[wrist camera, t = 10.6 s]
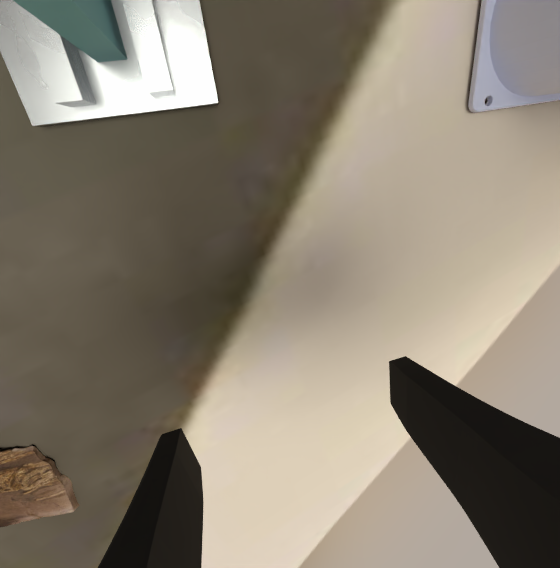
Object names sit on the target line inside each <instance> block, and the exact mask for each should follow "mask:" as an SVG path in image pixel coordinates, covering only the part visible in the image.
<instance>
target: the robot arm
mask: <svg viewBox="0 0 560 568" xmlns="http://www.w3.org/2000/svg"><path fill="white" fill-rule="evenodd" d="M486 98H487V103H486V105H485V99H486ZM558 100H560V0H482V2H481V10H480V18H479V26H478V33H477V41H476V49H475V57H474V65H473V72H472V80H471V88H470V96H469V103H468V105H469V110H470V111H471V112H483V111H490V110H496V109H503V108H510V107H517V106H524V105H530V104H537V103H544V102H551V101H558ZM389 370H390V399H391V405H392V406H393V408H394V410H395V412H396V414H397V415H398V417H399V419H400V421H401V422H402V424H403V426H404V427H405V429H406V431H407V432H408V433H409V435H410V436H411V438H412V439H413V440H414V442H415V443H416V445H417V446H418V447H419V449H420V450H421V451H422V453H423V454H424V455H425V456H426V458H427V460H428V461H429V462H430V464H431V465H432V466H433V468H434V469H435V470H436V472H437V473H438V474H439V476H440V477H441V479H442V480H443V481H444V483H445V484H446V485H447V487H448V488H449V489H450V491H451V492H452V493H453V495H454V496H455V498H456V499H457V501H458V502H459V504H460V505H461V506H462V508H463V509H464V511H465V512H466V514H467V516H468V517H469V519H470V520H471V522H472V524H473V525H474V527H475V528H476V530H477V532H478V533H479V535H480V537H481V538H482V540H483V541H484V543H485V545H486V546H487V548H488V550H489V551H490V553H491V555H492V556H493V558H494V560H495V561H496V563H497V565H498V566H499V568H560V438H558V437H556V436H554V435H552V434H549V433H547V432H545V431H543V430H540V429H538V428H536V427H534V426H531V425H529V424H527V423H525V422H523V421H521V420H518V419H516V418H514V417H512V416H510V415H508V414H506V413H504V412H502V411H500V410H498V409H496V408H494V407H493V406H490V405H489V404H487V403H485V402H483V401H481V400H479V399H477V398H475V397H474V396H472V395H470V394H468V393H467V392H465V391H463V390H461V389H459V388H458V387H456V386H454V385H453V384H451V383H449V382H447V381H446V380H444V379H442V378H441V377H439V376H437V375H436V374H434V373H432V372H431V371H429V370H427V369H426V368H424V367H422V366H421V365H419V364H417V363H416V362H414V361H412V360H411V359H409V358H407V357H406V356H405V357H402V358H399V359H395V360H392V361H389ZM202 530H203V489H202V476H201V467H200V465H199V463H198V461H197V459H196V457H195V455H194V453H193V451H192V449H191V447H190V445H189V443H188V441H187V439H186V437H185V435H184V433H183V431H182V429H181V428H180V429H177V430H174V431H171V432H168V433H165V434H162V435H161V437H160V439H159V441H158V443H157V446H156V448H155V450H154V453H153V455H152V457H151V460H150V462H149V464H148V467H147V469H146V471H145V473H144V476H143V478H142V480H141V482H140V485H139V487H138V489H137V491H136V493H135V495H134V497H133V500H132V502H131V504H130V506H129V508H128V510H127V512H126V514H125V516H124V518H123V520H122V522H121V524H120V526H119V528H118V530H117V532H116V534H115V536H114V538H113V540H112V542H111V544H110V546H109V548H108V550H107V551H106V553H105V555H104V557H103V559H102V561H101V563H100V565H99V566H98V568H201V558H202Z"/></svg>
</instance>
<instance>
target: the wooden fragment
mask: <svg viewBox="0 0 560 568" xmlns="http://www.w3.org/2000/svg"><path fill="white" fill-rule="evenodd" d="M45 457H46V456H43V455H42V453H41V452H39V450H38V449H37V447H35V446H29V447H26V448H17V447H16V448H13V449H8V450H5V451H0V527H4V526H8V525H12V524H17V523H20V522H22V521H23V522H24V521H29V520H32V519H39V518H41V517H49V516H54V515H59V514H65V513H71V512H74V511H75V509H76V508H77V507H78V506H79V504H78V502H77V500H76V497H75V494H74V492H73V488H72V482H71V480H70V479H69V478H68V477H66V476H65V475H63V474H61V473H60V472H59V471H58V469H57V468H56V466H55V462H54V461H52V460H51V459H49V458H45Z"/></svg>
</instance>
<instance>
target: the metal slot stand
mask: <svg viewBox="0 0 560 568" xmlns="http://www.w3.org/2000/svg"><path fill="white" fill-rule="evenodd" d="M111 3H112V6H113V10H114V13H115V17H116V20H117V24H118V27H119V31H120V34H121V38H122V41H123V45H124V48H125V52H126V55H127V60H117V61H107V62H96V61H95V60H94V59H92V58H91V57H90V56H88V55H87V54H86V53H84V52H83V51H81V50H80V49H79V48H77V47H76V46H75V45H73V44H72V43H70V42H69V41H68V40H66V39H65V38H64V37H62V36H61V35H60V34H58V33H57V32H55V31H54V30H53V29H51V28H50V27H49V26H47V25H46V24H44V23H43V22H42V21H40V20H39V19H38V18H36V17H35V16H34V15H32V14H31V13H29V12H28V11H27V10H25V9H24V8H23V7H21V6H20V5H18V4H17V3H16V2H14V1H13V0H0V52H1V54H2V56H3V59H4V61H5V63H6V66H7V68H8V70H9V72H10V75H11V77H12V79H13V82H14V84H15V86H16V89H17V91H18V93H19V96H20V98H21V100H22V103H23V105H24V107H25V110H26V112H27V114H28V117H29V119H30V121H31V123H32V126H40V127H42V126H50V125H58V124H66V123H74V122H82V121H90V120H98V119H106V118H114V117H122V116H130V115H138V114H146V113H154V112H162V111H170V110H178V109H186V108H194V107H202V106H210V105H218V99H217V93H216V88H215V83H214V77H213V72H212V66H211V61H210V56H209V50H208V45H207V39H206V34H205V29H204V23H203V18H202V13H201V7H200V2H199V0H111Z"/></svg>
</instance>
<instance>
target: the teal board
mask: <svg viewBox="0 0 560 568" xmlns="http://www.w3.org/2000/svg"><path fill="white" fill-rule="evenodd" d="M13 1H14V2H16V3H17V4H18V5H20V6H21V7H23V8H24V9H25V10H27V11H28V12H29V13H31V14H32V15H34V16H35V17H36V18H38V19H39V20H40V21H42V22H43V23H44V24H46V25H47V26H49V27H50V28H51V29H53V30H54V31H55V32H57V33H58V34H60V35H61V36H62V37H64V38H65V39H66V40H68V41H69V42H70V43H72V44H73V45H75V46H76V47H77V48H79V49H80V50H81V51H83V52H84V53H86V54H87V55H88V56H90V57H91V58H92V59H94V60H95V61H96V62H107V61H117V60H127V55H126V52H125V48H124V45H123V41H122V38H121V34H120V31H119V27H118V24H117V20H116V17H115V13H114V10H113V6H112V3H111V0H13Z"/></svg>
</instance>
